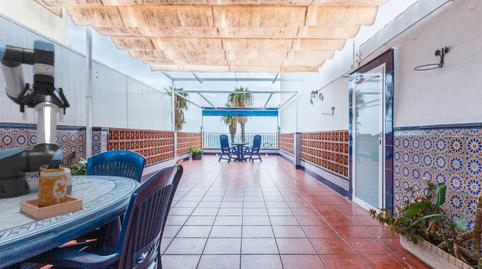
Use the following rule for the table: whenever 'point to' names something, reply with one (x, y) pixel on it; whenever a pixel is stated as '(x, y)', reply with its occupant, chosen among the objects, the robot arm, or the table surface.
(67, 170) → the smart speaker
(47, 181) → the canister
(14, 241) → the table surface
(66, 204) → the tray
